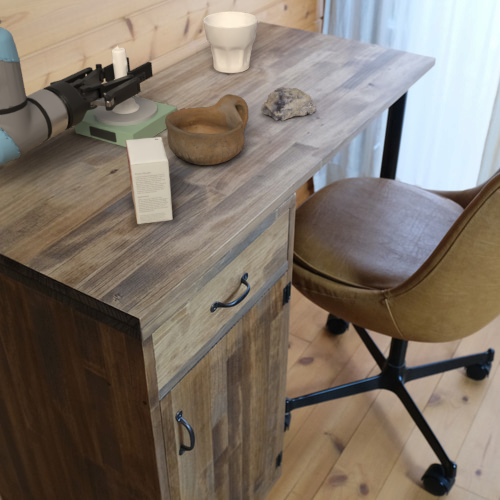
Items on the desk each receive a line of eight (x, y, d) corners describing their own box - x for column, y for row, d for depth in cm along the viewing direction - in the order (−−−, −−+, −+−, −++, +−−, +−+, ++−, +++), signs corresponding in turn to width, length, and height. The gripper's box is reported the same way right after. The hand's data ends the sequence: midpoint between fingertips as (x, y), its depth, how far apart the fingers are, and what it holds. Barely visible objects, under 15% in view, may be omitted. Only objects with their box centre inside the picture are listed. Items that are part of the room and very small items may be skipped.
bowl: (191, 118, 125) (202, 72, 119) (256, 148, 124) (270, 103, 117) (146, 157, 112) (156, 107, 105) (218, 192, 110) (232, 143, 104)
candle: (107, 106, 124) (99, 44, 117) (134, 101, 126) (127, 39, 119) (116, 116, 120) (108, 53, 113) (143, 111, 122) (137, 48, 115)
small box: (132, 198, 104) (124, 139, 98) (167, 194, 105) (161, 135, 99) (136, 225, 98) (128, 163, 92) (173, 221, 99) (168, 159, 93)
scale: (74, 133, 123) (71, 115, 121) (121, 107, 133) (119, 89, 131) (133, 150, 118) (131, 131, 115) (177, 121, 128) (176, 103, 126)
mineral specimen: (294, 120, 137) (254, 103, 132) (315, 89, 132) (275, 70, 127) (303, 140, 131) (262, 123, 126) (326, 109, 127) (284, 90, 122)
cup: (194, 70, 150) (192, 22, 144) (222, 54, 159) (221, 8, 152) (241, 80, 145) (240, 30, 139) (267, 63, 154) (268, 15, 147)
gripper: (18, 120, 113) (105, 77, 129) (98, 142, 105) (178, 94, 122) (9, 78, 108) (100, 39, 125) (91, 99, 101) (176, 54, 118)
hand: (138, 66), depth 123 cm, fingers closed on candle, 5 cm apart
